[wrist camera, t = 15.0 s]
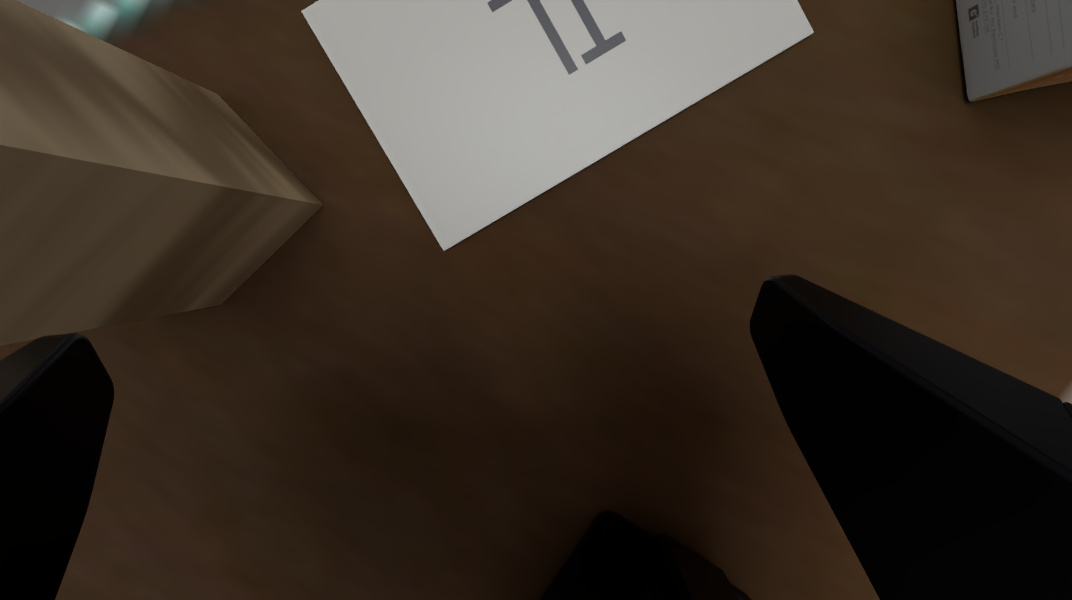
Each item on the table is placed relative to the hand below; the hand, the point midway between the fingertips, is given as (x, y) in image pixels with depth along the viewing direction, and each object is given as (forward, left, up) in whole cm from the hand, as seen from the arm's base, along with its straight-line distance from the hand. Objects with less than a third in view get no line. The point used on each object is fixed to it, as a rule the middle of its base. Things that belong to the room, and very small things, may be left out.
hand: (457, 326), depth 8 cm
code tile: (+8, +3, -12) cm, 15 cm away
